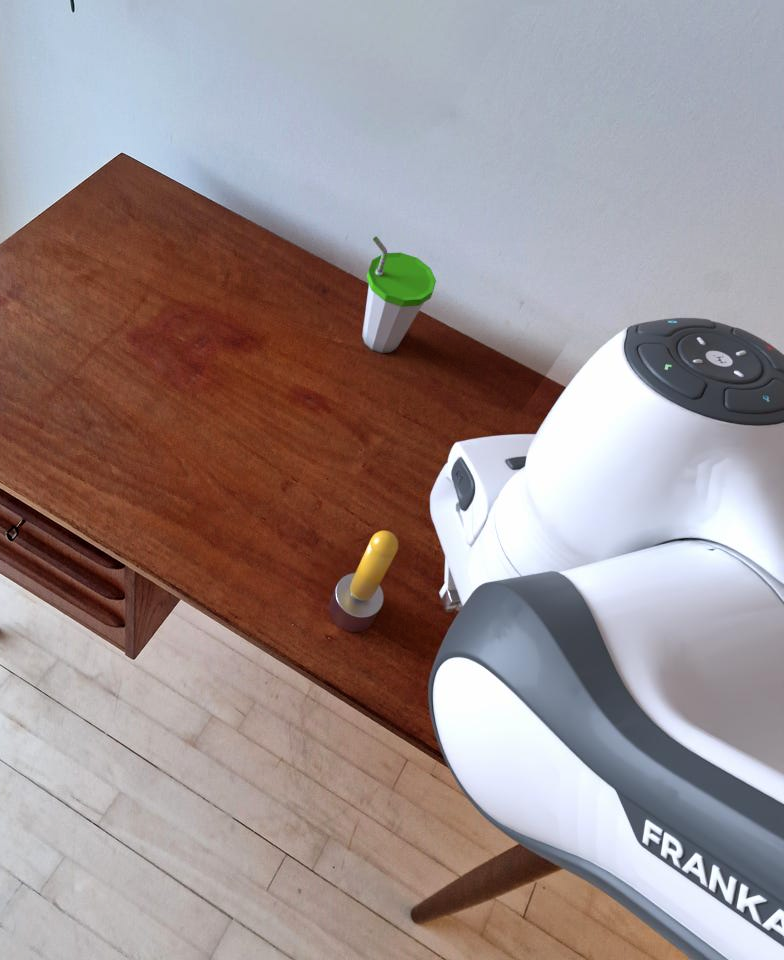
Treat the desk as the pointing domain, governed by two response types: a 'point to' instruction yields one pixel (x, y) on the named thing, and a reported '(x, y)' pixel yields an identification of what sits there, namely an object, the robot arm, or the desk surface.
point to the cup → (394, 297)
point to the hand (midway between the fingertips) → (474, 665)
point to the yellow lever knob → (363, 586)
